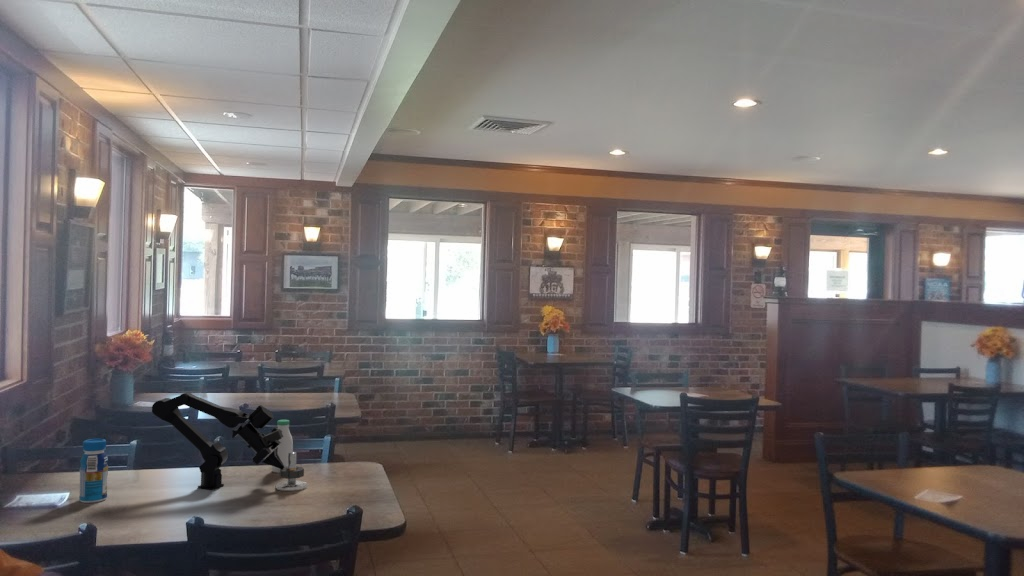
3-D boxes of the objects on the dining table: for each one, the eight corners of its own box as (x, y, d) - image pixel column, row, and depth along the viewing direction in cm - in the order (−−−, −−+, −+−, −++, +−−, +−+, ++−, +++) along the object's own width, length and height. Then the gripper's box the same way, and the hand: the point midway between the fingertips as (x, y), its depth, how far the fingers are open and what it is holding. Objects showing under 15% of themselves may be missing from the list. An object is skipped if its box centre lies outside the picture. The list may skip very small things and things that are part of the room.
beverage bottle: (72, 501, 246) (74, 441, 246) (94, 495, 254) (96, 436, 254) (91, 504, 244) (93, 443, 244) (113, 498, 252) (114, 439, 252)
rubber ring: (275, 477, 268) (275, 470, 268) (289, 472, 275) (289, 465, 275) (294, 479, 265) (294, 472, 265) (307, 474, 273) (307, 467, 273)
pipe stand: (269, 489, 267) (270, 454, 267) (288, 481, 277) (289, 448, 277) (294, 492, 263) (295, 457, 263) (313, 485, 274) (314, 451, 274)
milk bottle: (296, 470, 295) (297, 420, 295) (281, 474, 288) (282, 422, 288) (283, 467, 299) (284, 418, 299) (267, 471, 292) (269, 420, 292)
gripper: (262, 426, 260) (294, 458, 261) (275, 417, 279) (304, 447, 280) (239, 449, 260) (270, 480, 261) (253, 438, 278) (282, 467, 279)
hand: (283, 468), depth 270 cm, fingers closed, pressing on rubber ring
